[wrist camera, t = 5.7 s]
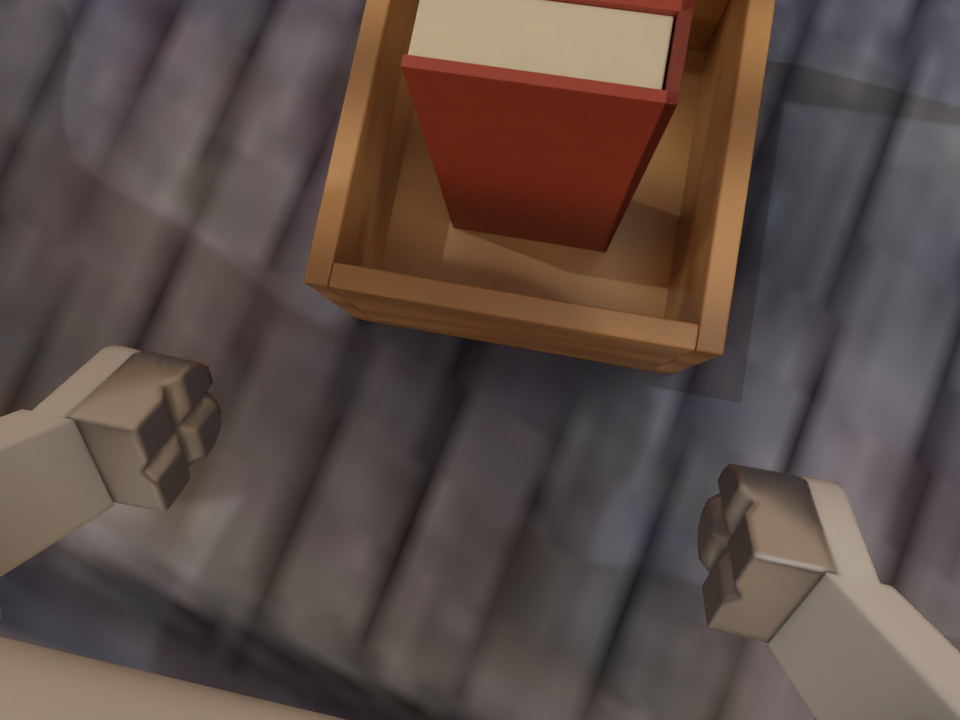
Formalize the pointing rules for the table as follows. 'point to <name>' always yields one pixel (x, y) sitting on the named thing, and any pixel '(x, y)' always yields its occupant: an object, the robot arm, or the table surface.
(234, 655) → the table surface
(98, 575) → the table surface
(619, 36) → the book
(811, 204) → the table surface
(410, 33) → the pine box
